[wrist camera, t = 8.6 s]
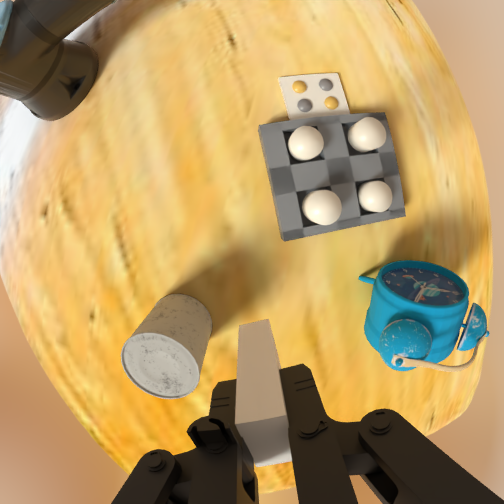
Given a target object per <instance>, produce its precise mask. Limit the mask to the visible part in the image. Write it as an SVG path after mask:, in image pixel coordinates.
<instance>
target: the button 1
mask: <svg viewBox="0 0 504 504" xmlns="http://www.w3.org/2000/svg"><path fill="white" fill-rule="evenodd" d="M323 146H324V141H323V137H322V135H321V133H320V132H319V131H318V130H317V129H315V128H313V127H310V126H301V127H299V128H297V129H296V130H295V131H294V132H293V133H292V135H291V136H290V138H289V139H288V142H287V150H288V153H289V155H290V156H291V157H292V158H293V159H295V160H297V161H301V162H304V161H308V160H310V159H312V158H314V157H315V156H317V155H318V154H320V152H321V151H322V149H323Z"/></svg>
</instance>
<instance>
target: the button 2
mask: <svg viewBox="0 0 504 504" xmlns="http://www.w3.org/2000/svg"><path fill="white" fill-rule="evenodd" d="M302 210H303V213H304V215H305V216H306V218H307V219H309V220H310V221H312V222H315V223H318V224H320V225H330V224H332V223H334V222H335V221H337V219H338V218H339V217H340V214H341V211H342V205H341V201H340V199H339V197H338V196H337V195H336V194H335V193H333V192H332V191H329V190H318V191H312V192H310V193H308V194H307V195H306V196H305V198H304V200H303V203H302Z"/></svg>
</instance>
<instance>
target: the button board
mask: <svg viewBox="0 0 504 504" xmlns="http://www.w3.org/2000/svg"><path fill="white" fill-rule="evenodd" d="M365 117H373V118H375V119H377V120H378V121H380V122H381V123H382V125H383V126H384V128H385V131H386V141H385V143H384V144H383V145H382V146H381V147H379V148H376V149H373V150H370V151H367V152H359V151H357V150H355V149H354V148H353V147H352V146H351V145H350V143H349V141H348V130H349V128H350V127H351V126H352V125H354V124H355V123H357V122H358V121H360V120H361V119H363V118H365ZM301 126H310V127H313V128H315V129H317V130H318V131H319V132H320V133H321V135H322V137H323V141H324V146H323V149H322V151H321V152H320V154H318V155H317V156H315V157H314V158H312V159H310V160H308V161H304V162H301V161H297V160H295V159H293V158H292V157H291V156H290V155H289V153H288V150H287V142H288V139H289V138H290V136H291V135H292V133H293V132H294V131H295V130H296V129H297V128H299V127H301ZM258 132H259V136H260V141H261V145H262V149H263V154H264V158H265V163H266V167H267V172H268V176H269V181H270V186H271V190H272V195H273V200H274V205H275V210H276V214H277V219H278V224H279V229H280V234H281V238H282V240H283V241H289V240H294V239H298V238H303V237H308V236H313V235H317V234H322V233H327V232H332V231H337V230H341V229H346V228H351V227H356V226H361V225H365V224H370V223H375V222H380V221H385V220H389V219H394V218H399V217H404V216H406V215H405V207H404V200H403V193H402V187H401V181H400V175H399V170H398V165H397V160H396V155H395V150H394V146H393V142H392V137H391V133H390V130H389V126H388V122H387V118H386V115H385V112H382V113H357V114H342V115H330V116H320V117H311V118H303V119H296V120H288V121H282V122H275V123H269V124H264V125H259V129H258ZM372 181H382V182H384V183H386V184H387V185H388V186H389V187H390V189H391V192H392V203H391V205H390V207H389V208H388V209H387V210H386V211H384V212H373V211H366V210H363V209H362V208H360V207H359V204H358V198H357V192H356V190H357V188H358V186H359V185H360V184H362V183H364V182H372ZM318 190H329V191H332V192H333V193H335V194H336V195H337V196H338V197H339V199H340V201H341V205H342V211H341V214H340V217H339V218H338V219H337V221H335V222H334V223H332V224H330V225H320V224H318V223H315V222H312V221H310V220H309V219H307V218H306V216H305V215H304V213H303V210H302V203H303V200H304V198H305V196H306V195H307V194H308V193H310V192H312V191H318Z"/></svg>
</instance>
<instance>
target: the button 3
mask: <svg viewBox="0 0 504 504" xmlns="http://www.w3.org/2000/svg"><path fill="white" fill-rule="evenodd" d="M348 141H349V143H350V145H351V146H352V147H353V148H354V149H355V150H357V151H359V152H367V151H370V150H373V149H376V148H379V147H381V146H382V145H383V144H384V143H385V141H386V131H385V128H384V126H383V125H382V123H381V122H380V121H378V120H377V119H375V118H373V117H365V118H363V119H361V120H360V121H358V122H357V123H355V124H354V125H352V126H351V127H350V128H349V130H348Z"/></svg>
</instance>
